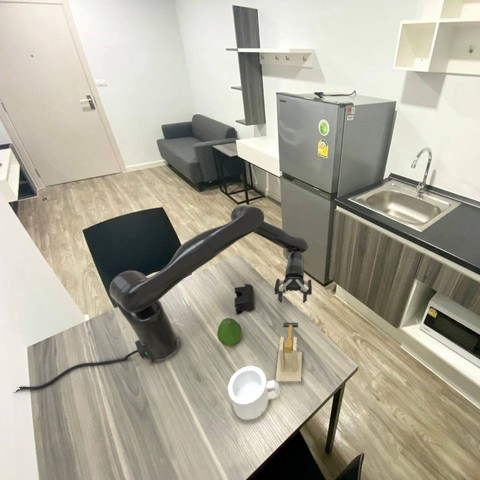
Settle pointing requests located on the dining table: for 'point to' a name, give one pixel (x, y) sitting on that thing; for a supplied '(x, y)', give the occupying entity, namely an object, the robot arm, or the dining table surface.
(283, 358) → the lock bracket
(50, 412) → the dining table surface
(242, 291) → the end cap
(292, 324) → the lever
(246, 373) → the mug
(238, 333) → the avocado
